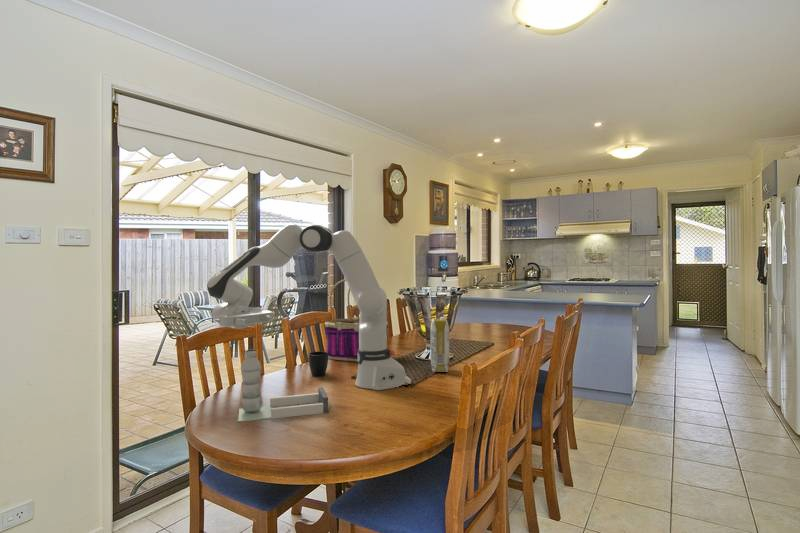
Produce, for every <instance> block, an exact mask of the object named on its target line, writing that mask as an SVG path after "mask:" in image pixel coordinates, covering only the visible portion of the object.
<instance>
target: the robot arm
mask: <svg viewBox="0 0 800 533" xmlns="http://www.w3.org/2000/svg"><path fill="white" fill-rule="evenodd" d="M301 249H304V250H305V251H306V252H309V253H314V254H323V253H326V252H327V251H328V252H330V254H332V256H333V257H334V259H335V261H336V263H337V265H338V268H339V269H340V271H341V272H342V275H343V277H344V279H346V281H345V282H346V283H347V285H348V289H349V288H350V294H351V295H352V298H353V299H354V300H353V301H355V304H356V306H357V308H358V310H359V349H358V362H357V364H358V365H357V366H358V367H357V372H356V373H357V374H356V379H355V382H354V385H355V386H357V388H362V389H367V390H369V389H370V390H375V391H382V390H388V389H395V387H396V388H400V387H399V386H401V385H402V384H405V383H403V382H407V383H411V382H412V379H411V378H410V377H408V376H407V375H406V371H405V367H404V366H403V365H402V364H401V363H400V362H398V361H397V360H396V359H394V358H393V357H394V356H395V350H393V349H390V348H388V347H387V334H386V324H387V322H388V321H387V319H388V318H387V315H388V313H387V312H388V309H387V308H388V300H387V299H388V298H387V297H388V296H387V294H386V291H385V290H384V289H383V288H382V287H380V285H379V282H378V280H377V278H376V276H375V274H374V272H373V269H372V267H371V264H370V263H369V261H368V259H367V257H366V255H365V254H364V251H363V249H362V247H361V246H360V244H359V242H358V240H357V239H356V238H355V237H354V236H353V235H352V233H351V232H350V231H348V230H346V229H345V230H339V231H336V232H332V231H331V230H330V229H329V228H328V227H326V226H323V225H320V224H310V225H307V226H305V227H303V228H302V227H301V226H299V225H298V224H295V223H287V224H286V225H284V226H283V227H282V228H280V230H278V231H277V232H276V233H275V234H274V235H273V236H272V237H271V238H270V239H269V240H268V241H267V242H265V243H264V244H262V245H258V246H252V247H250V248H249V249H247V250H246V251H245V252H243V253H242V254H241V255H240V256H238V257H237V258H236V259H234V260H233V261H232V262H231V263H230V264H229V265H227V266H225V268H224V269H222V270H220V271H218V272H217V273H215V274H214V275H213V276H211V278H210V279H209V280H208V281H207V284H206V286H207V287H206V288H207V292H208V294H209V296H210V297H212V298H215V299H216V300H220V301H222V302H221V303H220V304H218V305H216V306H214V307H213V309H212V312H211V317H212V319H213V321H214V322H215V323H217V325H219V326H221V327H223V328H232V329H236V330H243V329H245V328H248V327H251V326H254V325H259V324H262V323H269V322H270V323H271V322H273V321H274V320H275V313H274V312H273V311H272V310H268V309H265V308H263V309H262V307H259V306H253V303H254V300H255V294H254V290H253V289H252V288H251V287H250V286H248V285H246V284H244V283H242V282H240V281H239V280H236V279H235V278H236V277H237V276H239V275H240V274H241V273H242V272H244V271H245V270H246V269H248V268H249V267H252V266H258V267H259V266H261V267H266V268H270V269H271V268H272V269H277V268H281V267H285V265H287V263H289V262H290V261H291V260H292V258H293V257H294V256H295V255H296V254H297V253H298V252H299V251H300V250H301Z"/></svg>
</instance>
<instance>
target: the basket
mask: <svg viewBox="0 0 800 533" xmlns="http://www.w3.org/2000/svg"><path fill="white" fill-rule="evenodd" d="M342 282H347V281H346V279H345V278H344V279H340V280H339V281H337V282H336V283H335V284H334V285H333V286H332V288H331V290H330V294H329V307H330V312H331V317H332V319H330V320H327V321H325V322H324V328H325V332H326V343H327V344H326V352H328V360H332V361H333V360H335V361H336V360H337V361H346V362H355V363H358V349H359V318H360V316H359V317H356V316H355V317H354V316H352V312H351V306H350V305H351V304H350V294H351V290H350V288H349V287H348V290H347V309H348V314H349V317H350V318H336V317H335V313H334V310H333V304H332V296H333V292H334V290H335V288H336V287H337V286H338V285H339V284H341V283H342ZM388 325H389V322H388V321H387V324H386V335H387V334H388V327H389V326H388Z"/></svg>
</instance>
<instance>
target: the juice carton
mask: <svg viewBox="0 0 800 533" xmlns="http://www.w3.org/2000/svg"><path fill="white" fill-rule="evenodd" d="M430 365H431V366H430V367H431V370H432V372H433V371H439V372H449V368H450V326H449V322H448V320H447V317H445V316H440V317H439V318H432V319H431V322H430Z"/></svg>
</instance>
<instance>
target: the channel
mask: <svg viewBox="0 0 800 533" xmlns="http://www.w3.org/2000/svg"><path fill="white" fill-rule="evenodd" d="M308 403H309V404H308ZM297 404H299V405H297ZM269 405H270V408H271V419H272V420H274V419H282V418H291V417H299V416H300V417H301V416H308V415H310V416H311V415H317V414H326V413H329V396H328V394H327V393H326V391H325V389H324V387H323V386H322V387H321V386H320V387H319V386H318V391H317V392H315V393H306V394H305V393H304V394H295V395H283V396H275V397H269ZM289 405H290V406H289Z"/></svg>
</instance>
